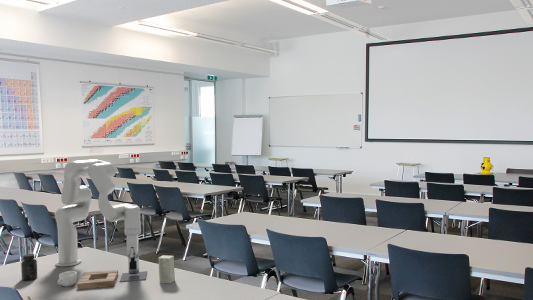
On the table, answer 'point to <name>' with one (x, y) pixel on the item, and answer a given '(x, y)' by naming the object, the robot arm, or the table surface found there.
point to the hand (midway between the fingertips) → (133, 267)
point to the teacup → (67, 278)
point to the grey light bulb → (136, 271)
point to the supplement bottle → (29, 267)
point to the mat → (133, 276)
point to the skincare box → (166, 269)
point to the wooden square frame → (97, 279)
